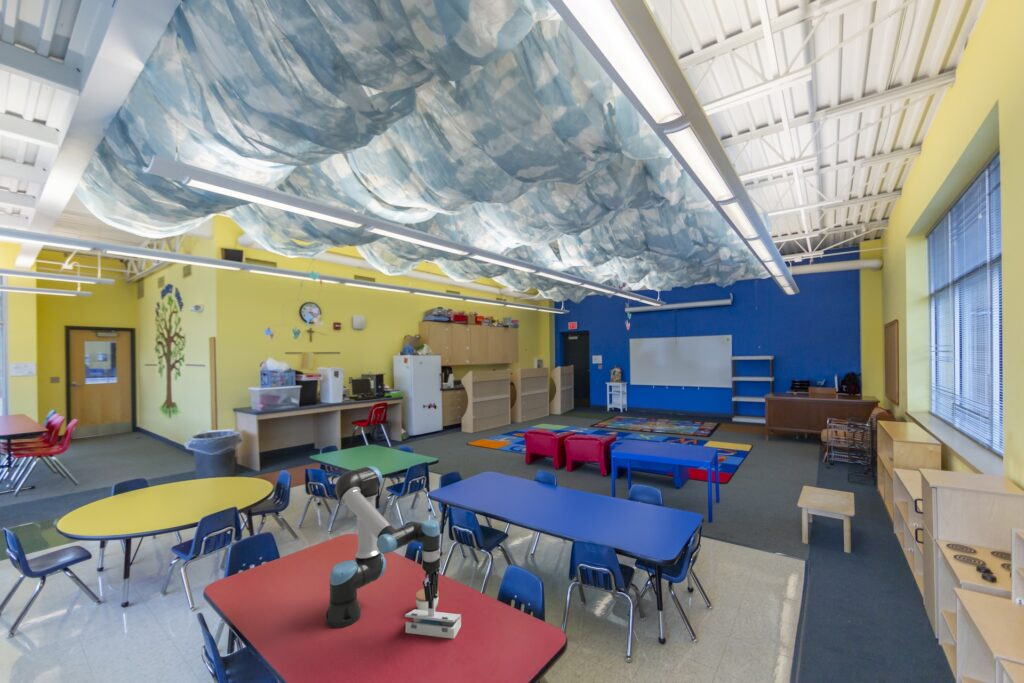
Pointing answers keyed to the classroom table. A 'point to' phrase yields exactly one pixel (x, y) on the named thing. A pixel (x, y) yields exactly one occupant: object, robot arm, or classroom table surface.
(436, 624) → the blue pill shape
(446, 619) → the cover
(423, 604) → the lidded jar
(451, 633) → the white latched case
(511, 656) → the classroom table surface
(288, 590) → the classroom table surface
